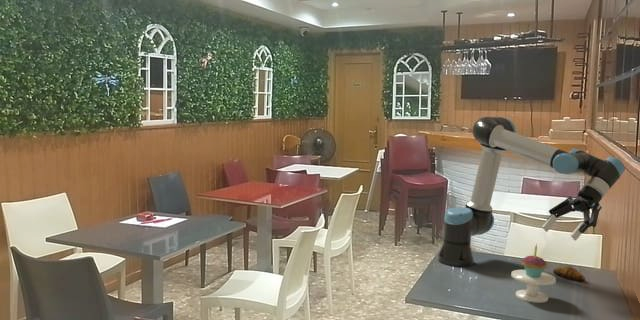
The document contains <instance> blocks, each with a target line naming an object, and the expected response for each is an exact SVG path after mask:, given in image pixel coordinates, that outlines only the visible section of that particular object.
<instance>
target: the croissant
mask: <svg viewBox="0 0 640 320" xmlns="http://www.w3.org/2000/svg"><path fill="white" fill-rule="evenodd" d="M553 274H555V275H556V276H560V277H562V278H565V279H567V280H568V279H569V280H573V281H577V282H582V283H583V282H585V281H586V277H585V276H584V275H583V274H582V273H581V272H580V271H578V269H576V268H574V267H572V266H570V265H568V266H563V267H556V268H554V269H553Z"/></svg>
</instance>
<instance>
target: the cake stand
mask: <svg viewBox="0 0 640 320" xmlns="http://www.w3.org/2000/svg"><path fill="white" fill-rule="evenodd" d="M511 278H512V279H513V280H516V281H517V282H520V283H525V284H526V288H525V289H518V290H517V291H515V297H516V298H517V299H519V300H522V301H525V302H529V303H535V304H537V303H538V304H540V303H541V304H542V303H547V302H549V295H548V294H545V293H544V292H540V291H539V288H540V287H539V286H552V285H555V284H556V283H557V278H556V277H555V276H554V275H553V274H549V273H547V272H542V274H541V276H540V277H538V278H535V277H529V276H527V275H526V271H525V269H515V270H513V271H511Z"/></svg>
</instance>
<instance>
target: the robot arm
mask: <svg viewBox="0 0 640 320" xmlns="http://www.w3.org/2000/svg"><path fill="white" fill-rule="evenodd" d="M471 132H472V135H473V137H474V140H475V141H477V143H479V145H480V147H481V149H482V150H481V155H480V158H479V165H478V169H477V171H476V175H475V176H476V177H475V180H474V186H473V188H472V192H471V193H472V195H471V197H470V200H469V201H466V202H465V203H466V204H465V207H462V206H459V207H458V206H457V207H450V208H447V210H446V211H445V213H444V226H443V227H444V228H443V242H442V245H441V248H440V250H439V252H438V255H437V261H438V262H439V263H442V264H444V265H448V266H454V267H469V266H472V265H474V256H473V252H472V251H473V250H472V247H471V242H472V241H471V239H472V236H481V235H484V234H486V233H488V232H490V231H491V229H492V228H493V227H494V223H495V216H494V215H493V207H492V206H491V202H492V198H493V194H494V190H495V186H496V182H497V178H498V174H499V170H500V165H501V160H502V157H503V154H504V153H506V152H507V151H508V152H511V153H513V154H516V155H518V156H520V157H523V158H526V159H529V160H531V161H534V162H537V163H539V164H542V165H543V166H546V167H550V168H551V169H554V171H556V172H557V173H559V174H562V175H570V174H575V173H577V174H578V173H583V174H584V175H586V176H589V177H590V178H589V180H587V182H585V184H584V185H583V187H581V189H580V190H579V191H578V193H577V197H575V198H573V197H572V196H568V197H567V198H565V200H563V201H561V202H560V203H559V204H557V205H555V206H553V207H552V208H550V209H549V210H548V212H549V214H550V216H549V217H548V218H547V219H546V221H545V223H543V225H542V226H541V228H542V229H543V230H544V231H545V232H546V233H548V232H549V230H550V229H551V228H552V227H553V225H554V224H555V223H556V222H557V221H558V218H560V217H563V216H564V215H566V214H569V213H571V212H572V213H573V212H580V213H581V214H583V221H581V222H580V223H579V224H578V225H577V227H576V228H575V229H574V230H573V231H572V233H571V234H570V237H571V238H572V240H573V241H577V240H578V239H579V238H580V236H581V235H582V234H584V233H585V232H586V231H587V230H588V228H590V227H592V228H596V226H597V223H598V219H599V215H600V211H601V210H602V209H603V208H602V207H603V206H601V204H600V202H601V201H602V199H603V198H604V197H605V196H606V194H607V193H608V192H609V191H610V190H611V188H612V187H613V186H614V185H615V184H616V182H617V181H618V180H619V179H621V176H622V175H623V173H624V172H625V171H626V166H625V163H624V162H623V161H622V160H620V159H618V157H615V156H613V157H612V156H609V157H607V158H605V160H604V159H602V158H599V157H597V156H595V155H593V154H591V153H588V152H586V151H585V150H581V149H578V148H573V149H571V150H570V151H567V150H563V149H560V148H557V147H555V146H551V145H549V144H546V143H544V142H541V141H539V140H535V139H533V138H530V137H527V136H525V135H521V134H519V133H517V129H516V126H515V124H514V123H513V121H512V120H511V119H509V118H507V117H506V118H505V117H502V116H483V117H480V118H479V119H477V120H476V121H475V123H474V124H473V126H472V131H471ZM590 210H591V211H590Z"/></svg>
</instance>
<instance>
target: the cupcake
mask: <svg viewBox="0 0 640 320" xmlns="http://www.w3.org/2000/svg"><path fill="white" fill-rule="evenodd" d="M537 251H538V246H537V243H536V244H535V246H534V253H533V255H526V256H525V257H523V258H522V259H521V263H520V264H521V265H522V266H523V268H524V270H525V271H526V275H527V276H529V277H535V278H538V277H540V276H541V274H542V272H543V271H544V270H545V269H547V261H546V260H545V259H543V258H542V257H539V256H537Z"/></svg>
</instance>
